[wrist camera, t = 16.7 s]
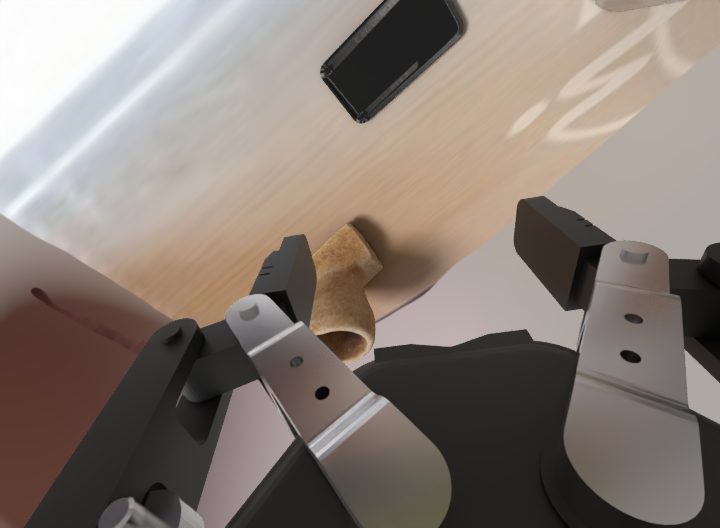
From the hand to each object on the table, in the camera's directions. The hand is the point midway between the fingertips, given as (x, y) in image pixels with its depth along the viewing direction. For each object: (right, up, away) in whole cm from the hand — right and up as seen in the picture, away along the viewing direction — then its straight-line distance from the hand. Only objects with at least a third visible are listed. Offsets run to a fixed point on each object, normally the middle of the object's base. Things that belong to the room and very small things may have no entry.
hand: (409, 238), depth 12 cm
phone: (+1, +23, +24) cm, 33 cm away
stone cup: (-5, -2, +40) cm, 40 cm away
